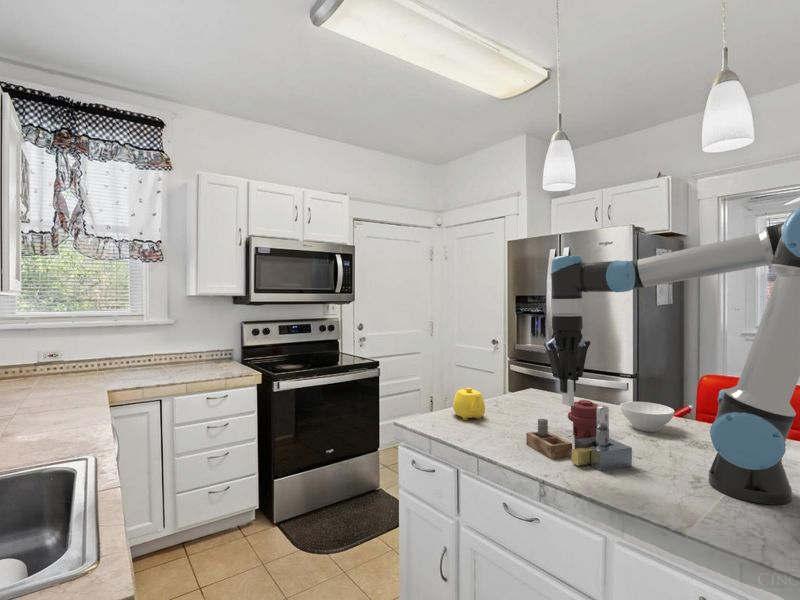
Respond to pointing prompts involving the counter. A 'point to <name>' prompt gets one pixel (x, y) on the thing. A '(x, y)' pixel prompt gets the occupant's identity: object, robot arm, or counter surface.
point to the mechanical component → (583, 419)
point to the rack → (548, 442)
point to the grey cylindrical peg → (602, 426)
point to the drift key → (581, 456)
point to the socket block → (607, 454)
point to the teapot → (469, 404)
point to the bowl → (647, 415)
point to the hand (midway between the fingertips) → (568, 404)
